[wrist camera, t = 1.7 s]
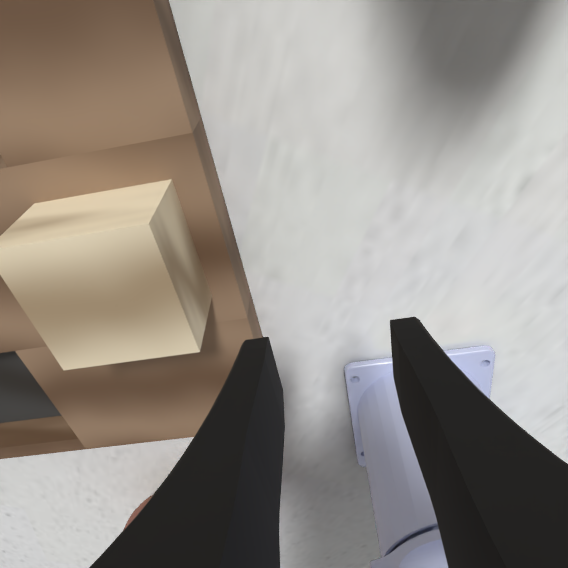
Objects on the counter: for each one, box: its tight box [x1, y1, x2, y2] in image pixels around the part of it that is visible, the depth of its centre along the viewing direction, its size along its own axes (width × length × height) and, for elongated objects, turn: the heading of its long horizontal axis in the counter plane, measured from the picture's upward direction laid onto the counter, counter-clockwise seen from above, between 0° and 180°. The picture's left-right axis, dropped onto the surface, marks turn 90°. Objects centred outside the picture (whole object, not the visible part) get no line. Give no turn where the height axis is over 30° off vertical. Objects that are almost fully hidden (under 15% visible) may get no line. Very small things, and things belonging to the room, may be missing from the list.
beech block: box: [0, 179, 212, 370], centre depth 17 cm, size 6×6×4 cm
